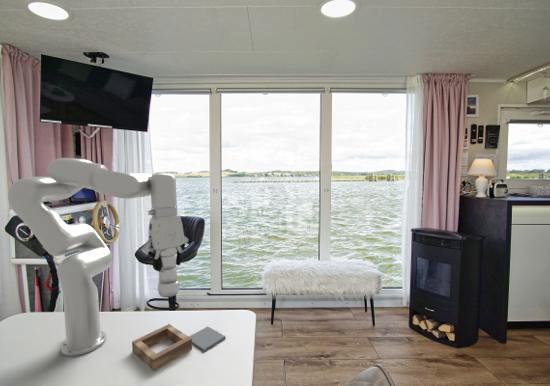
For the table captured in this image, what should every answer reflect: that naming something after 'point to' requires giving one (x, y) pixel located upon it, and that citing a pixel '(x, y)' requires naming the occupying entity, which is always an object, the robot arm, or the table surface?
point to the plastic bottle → (168, 273)
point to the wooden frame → (164, 356)
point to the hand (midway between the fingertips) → (167, 266)
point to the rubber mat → (206, 338)
